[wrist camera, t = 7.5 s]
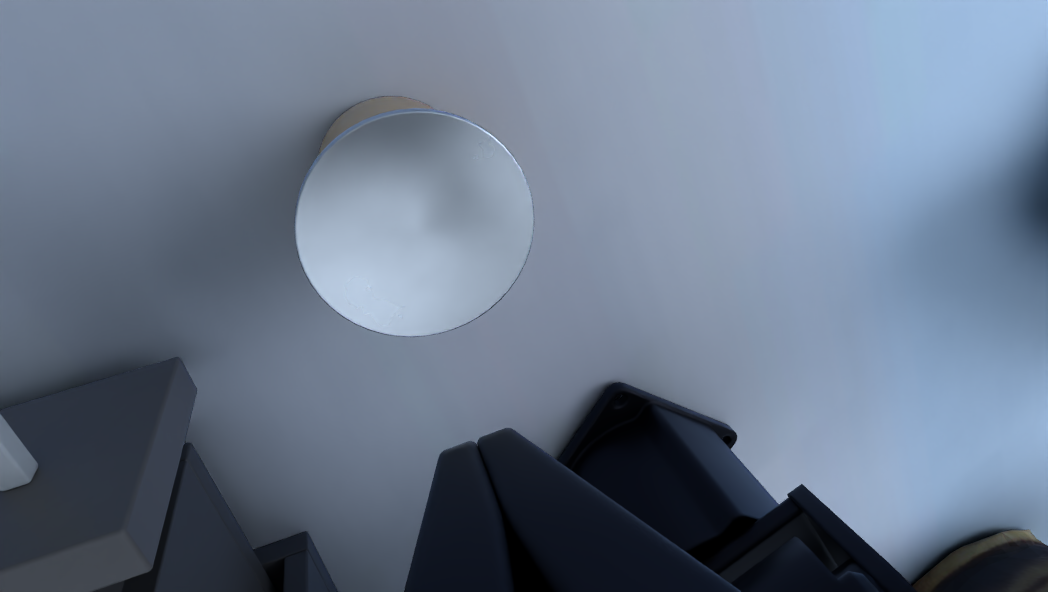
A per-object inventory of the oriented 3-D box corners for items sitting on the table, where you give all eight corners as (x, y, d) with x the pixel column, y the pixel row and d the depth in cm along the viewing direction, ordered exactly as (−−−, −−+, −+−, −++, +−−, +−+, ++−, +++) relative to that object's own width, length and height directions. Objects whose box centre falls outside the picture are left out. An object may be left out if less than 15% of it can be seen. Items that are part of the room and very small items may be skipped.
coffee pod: (348, 36, 16) (363, 60, 12) (515, 133, 18) (576, 181, 14) (265, 211, 17) (253, 288, 13) (431, 281, 20) (465, 365, 15)
